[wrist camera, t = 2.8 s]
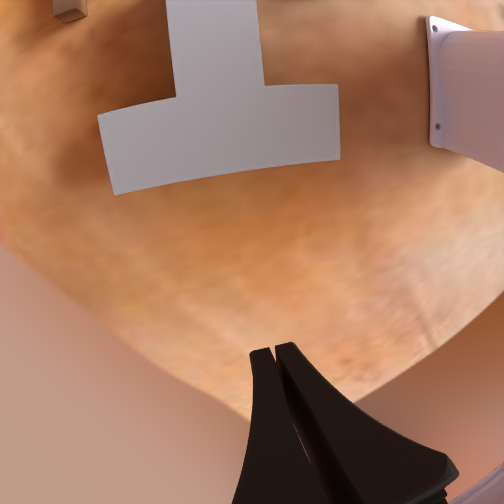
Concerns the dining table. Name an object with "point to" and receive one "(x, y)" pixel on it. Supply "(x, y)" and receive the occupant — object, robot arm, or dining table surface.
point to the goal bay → (69, 9)
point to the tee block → (218, 107)
